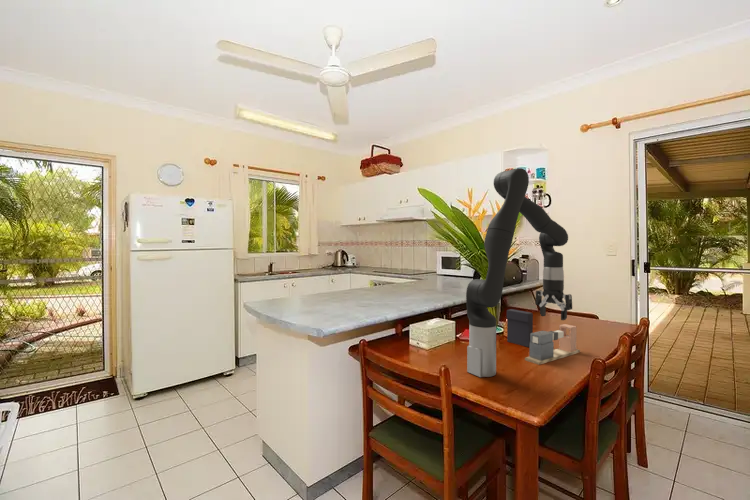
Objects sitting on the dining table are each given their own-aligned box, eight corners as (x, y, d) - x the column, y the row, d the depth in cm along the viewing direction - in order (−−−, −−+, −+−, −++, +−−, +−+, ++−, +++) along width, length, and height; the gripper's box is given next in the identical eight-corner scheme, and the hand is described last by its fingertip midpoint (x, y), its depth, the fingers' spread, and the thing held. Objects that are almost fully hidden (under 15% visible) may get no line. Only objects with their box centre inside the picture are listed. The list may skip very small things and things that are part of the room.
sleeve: (541, 360, 134) (541, 335, 134) (529, 357, 139) (529, 333, 138) (553, 357, 139) (553, 333, 138) (541, 353, 143) (541, 330, 143)
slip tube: (538, 344, 135) (538, 337, 135) (531, 342, 138) (531, 335, 138) (564, 337, 144) (564, 330, 144) (557, 336, 146) (557, 329, 146)
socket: (570, 352, 145) (570, 327, 144) (559, 348, 149) (559, 325, 149) (576, 350, 147) (576, 326, 147) (564, 347, 151) (564, 324, 151)
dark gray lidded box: (533, 346, 156) (533, 312, 156) (528, 347, 154) (528, 313, 154) (511, 340, 166) (512, 308, 165) (506, 341, 163) (506, 309, 163)
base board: (539, 364, 133) (539, 362, 133) (525, 360, 138) (525, 357, 138) (580, 352, 147) (580, 349, 147) (566, 348, 153) (566, 346, 153)
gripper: (531, 277, 146) (531, 316, 146) (565, 280, 134) (565, 322, 134) (542, 276, 150) (542, 313, 150) (576, 279, 137) (576, 320, 138)
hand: (553, 318), depth 142 cm, fingers open, 8 cm apart
